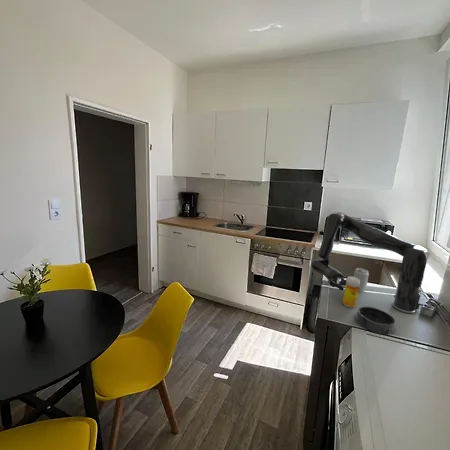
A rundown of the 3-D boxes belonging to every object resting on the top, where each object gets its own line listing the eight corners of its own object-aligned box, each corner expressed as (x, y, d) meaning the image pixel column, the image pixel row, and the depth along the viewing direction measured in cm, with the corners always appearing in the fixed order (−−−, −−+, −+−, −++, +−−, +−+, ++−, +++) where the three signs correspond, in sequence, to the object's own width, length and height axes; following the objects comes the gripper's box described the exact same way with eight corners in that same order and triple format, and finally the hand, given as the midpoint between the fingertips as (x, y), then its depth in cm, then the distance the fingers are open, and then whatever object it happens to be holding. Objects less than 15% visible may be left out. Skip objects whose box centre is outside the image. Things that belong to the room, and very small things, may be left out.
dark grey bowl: (377, 314, 120) (378, 306, 119) (401, 333, 106) (403, 324, 105) (349, 314, 118) (351, 306, 117) (370, 334, 104) (372, 325, 103)
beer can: (354, 309, 123) (359, 282, 120) (341, 305, 127) (346, 278, 124) (356, 304, 128) (361, 278, 125) (343, 300, 132) (348, 274, 128)
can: (349, 284, 151) (353, 266, 149) (362, 286, 150) (366, 268, 148) (354, 290, 144) (357, 271, 141) (367, 292, 143) (371, 273, 140)
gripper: (323, 269, 140) (338, 282, 125) (346, 269, 142) (364, 282, 126) (321, 281, 142) (336, 295, 126) (344, 281, 144) (362, 295, 128)
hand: (350, 289), depth 126 cm, fingers open, 8 cm apart
